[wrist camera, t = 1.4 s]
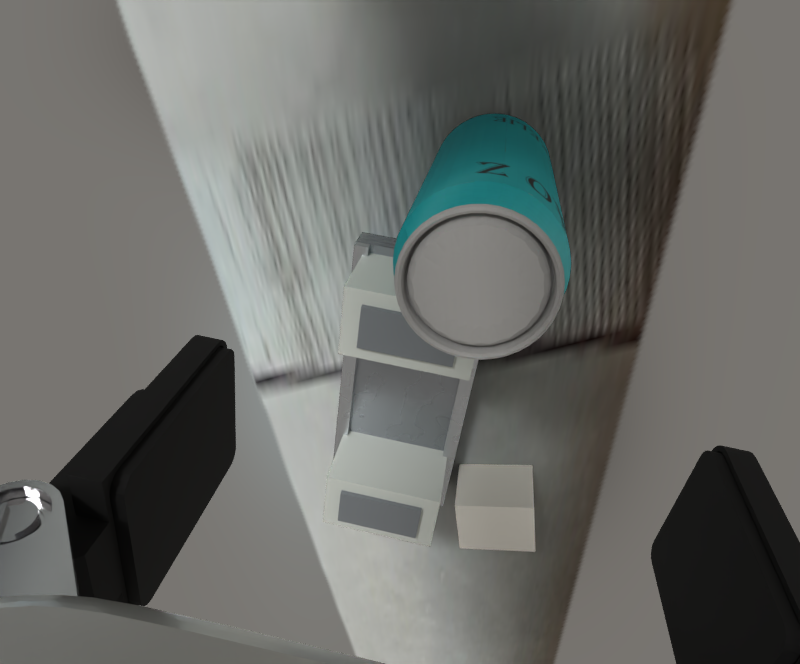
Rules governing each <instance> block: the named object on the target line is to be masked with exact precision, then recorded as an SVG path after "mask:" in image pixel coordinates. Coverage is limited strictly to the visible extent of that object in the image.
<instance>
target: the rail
mask: <svg viewBox="0 0 800 664" xmlns="http://www.w3.org/2000/svg"><path fill="white" fill-rule="evenodd" d="M396 240H397V239H395V238H390V237H384V236H379V235H374V234H368V233H363V232H362V234H361V235H360V237H359V238H358V240H357V241H356V243H355V245H354V252H353V263H352V272H353V270H354V268H355V267H356V265H357V263H358V262H359V260H360V258H361V256H362V255H364V256H368V255H369V253H373V254H379V255H384V256H389V257H393V254H394V247H395V244H396ZM351 274H352V273H351ZM477 364H478V359H474V363H473V367H472V372H471V376H470V380H469V381H468V380H463V379H458V378H453V377H448V376H443V375H439V374H434V373H429V372H424V371H419V370H414V369H410V368H405V367H400V366H395V365H390V364H385V363H380V362H376V361H371V360H366V359H361V358H356V357H351V356H346V355H343V366H342V376H341V386H340V397H339V407H338V417H337V428H336V438H335V448H334V457H335V455H336V452H337V449H338V447H339V444H340V442H341V439H342V437H343V435H348V433H349V431H353V432H358V433H362V434H367V435H372V436H376V437H381V438H386V439H390V440H395V441H399V442H404V443H409V444H413V445H418V446H423V447H427V448H432V449H436V450H441V451H443V456H444V457H447V461H446V468H445V475H444V482H443V489H442V496H441V502H440V506H443V505H444V501H445V497H446V492H447V488H448V484H449V480H450V476H451V472H452V468H453V463H454V459H455V455H456V451H457V447H458V443H459V439H460V434H461V430H462V426H463V422H464V418H465V414H466V410H467V405H468V401H469V397H470V393H471V389H472V385H473V381H474V376H475V372H476V368H477ZM333 460H334V459H333Z"/></svg>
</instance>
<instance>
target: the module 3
mask: <svg viewBox="0 0 800 664" xmlns="http://www.w3.org/2000/svg"><path fill="white" fill-rule="evenodd" d="M455 512H456V521H457V529H458V538H459V546H460V548H462V549H484V550H506V551H528V552H535V519H534V491H533V466H532V465H495V464H459V473H458V481H457V490H456V499H455Z"/></svg>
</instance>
